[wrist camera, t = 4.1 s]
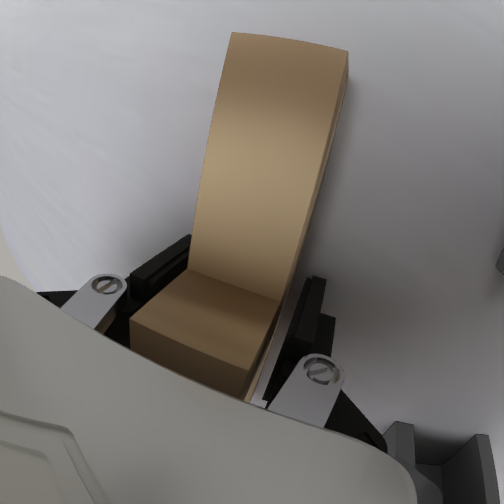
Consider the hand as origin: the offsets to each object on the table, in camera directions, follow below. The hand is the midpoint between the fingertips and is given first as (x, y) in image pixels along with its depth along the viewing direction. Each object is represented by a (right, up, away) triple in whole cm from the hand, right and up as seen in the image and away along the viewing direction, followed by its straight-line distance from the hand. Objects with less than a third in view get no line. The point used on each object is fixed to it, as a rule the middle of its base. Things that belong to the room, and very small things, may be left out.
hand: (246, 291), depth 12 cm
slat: (+1, +1, +1) cm, 2 cm away
